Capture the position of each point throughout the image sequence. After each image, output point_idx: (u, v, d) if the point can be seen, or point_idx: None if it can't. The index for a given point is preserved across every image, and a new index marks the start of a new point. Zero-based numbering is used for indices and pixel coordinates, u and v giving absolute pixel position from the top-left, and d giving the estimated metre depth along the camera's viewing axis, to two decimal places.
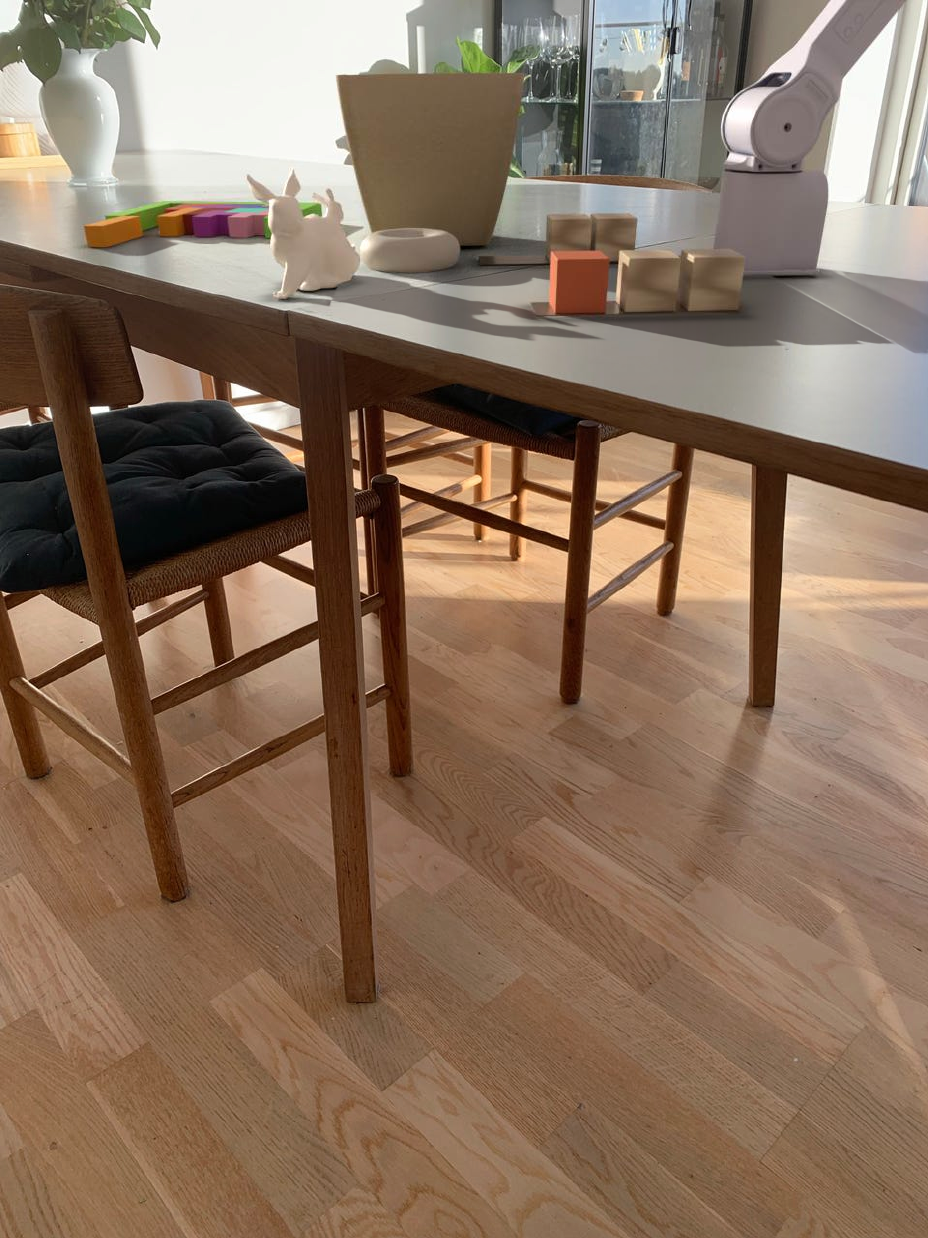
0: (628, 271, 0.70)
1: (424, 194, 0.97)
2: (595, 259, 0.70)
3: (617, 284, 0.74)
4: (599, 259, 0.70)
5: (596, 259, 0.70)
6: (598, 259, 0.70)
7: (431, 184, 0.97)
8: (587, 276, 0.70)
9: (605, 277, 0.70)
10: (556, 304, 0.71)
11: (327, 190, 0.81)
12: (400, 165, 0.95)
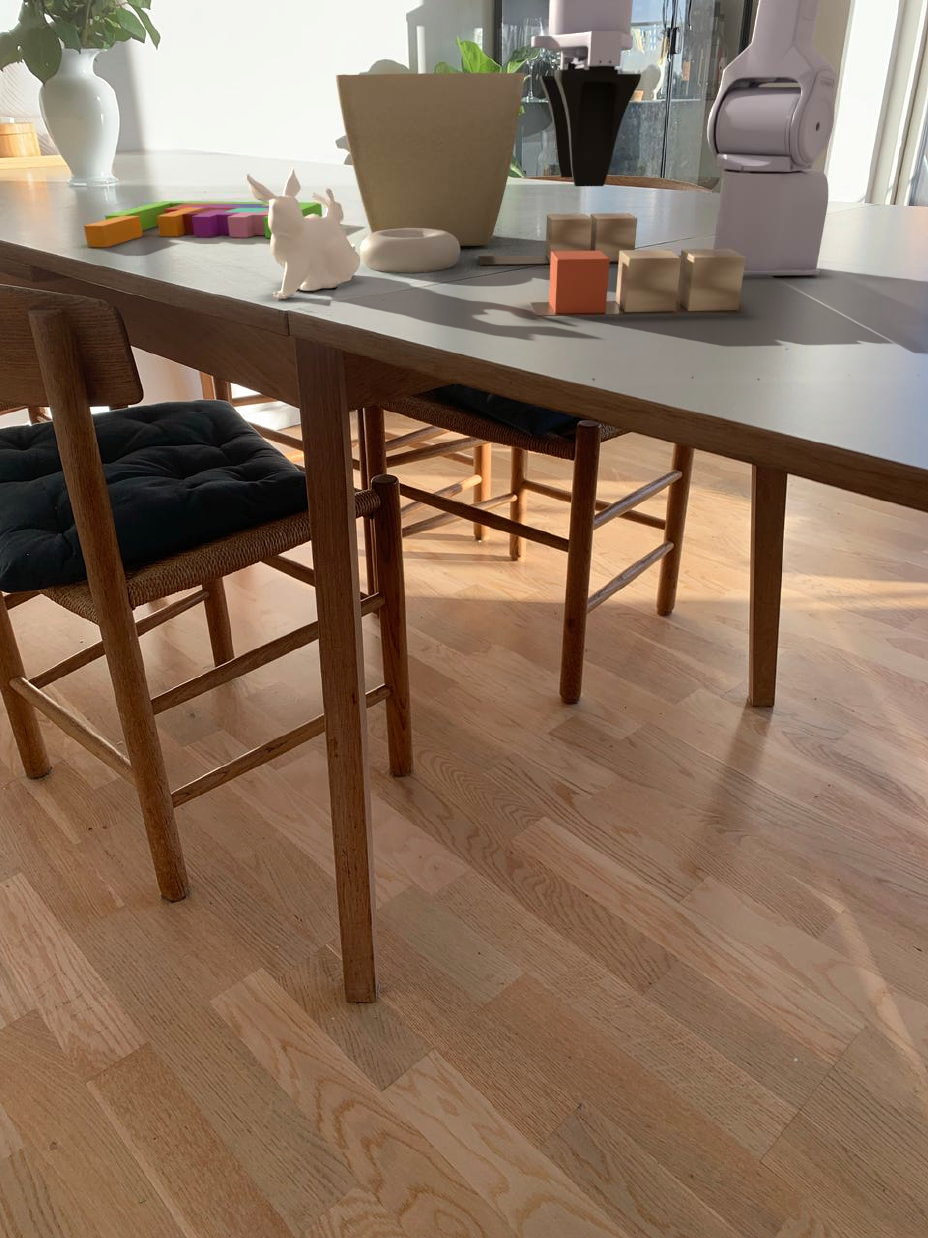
0: (628, 271, 0.70)
1: (424, 194, 0.97)
2: (595, 259, 0.70)
3: (617, 284, 0.74)
4: (599, 259, 0.70)
5: (596, 259, 0.70)
6: (598, 259, 0.70)
7: (431, 184, 0.97)
8: (587, 276, 0.70)
9: (605, 277, 0.70)
10: (556, 304, 0.71)
11: (327, 190, 0.81)
12: (400, 165, 0.95)
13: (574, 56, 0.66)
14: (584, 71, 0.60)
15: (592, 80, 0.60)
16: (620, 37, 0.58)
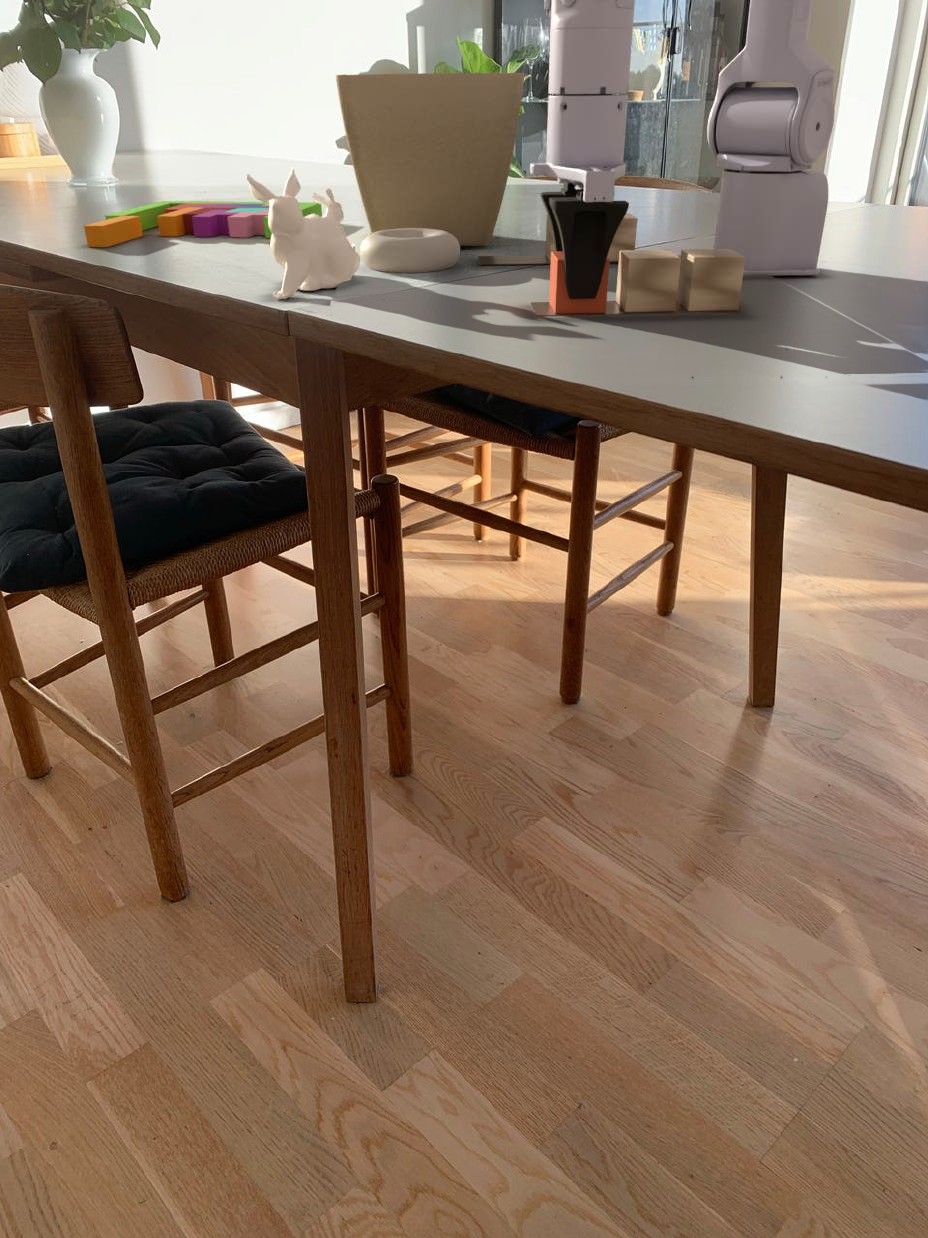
0: (628, 271, 0.70)
1: (424, 194, 0.97)
2: None
3: (617, 284, 0.74)
4: None
5: None
6: None
7: (431, 184, 0.97)
8: None
9: (605, 277, 0.70)
10: (556, 304, 0.71)
11: (327, 190, 0.81)
12: (400, 165, 0.95)
13: None
14: (576, 202, 0.65)
15: (584, 210, 0.65)
16: (613, 177, 0.62)
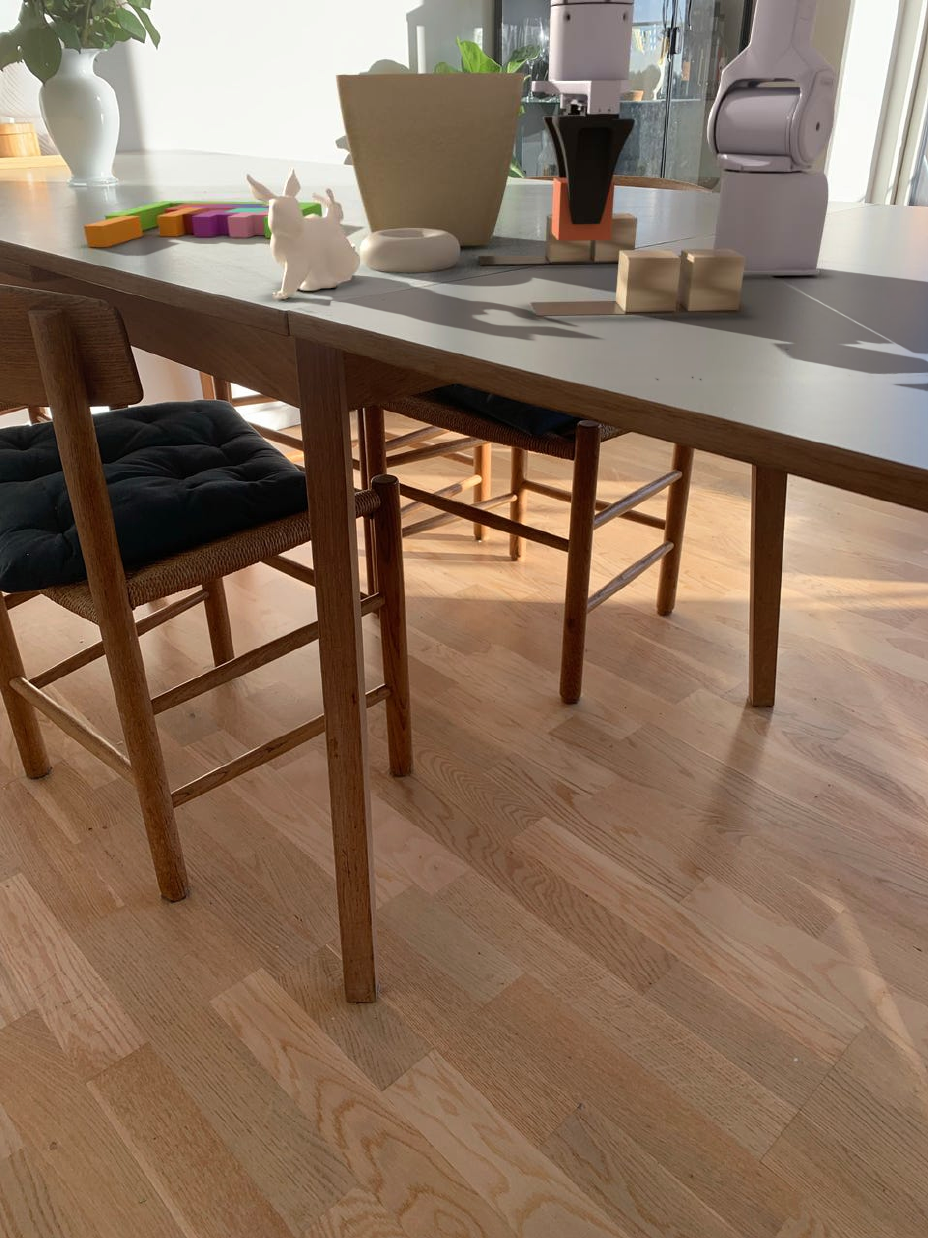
0: (628, 271, 0.70)
1: (424, 194, 0.97)
2: None
3: (617, 284, 0.74)
4: None
5: None
6: None
7: (431, 184, 0.97)
8: None
9: (610, 202, 0.68)
10: (559, 231, 0.69)
11: (327, 190, 0.81)
12: (400, 165, 0.95)
13: (574, 98, 0.68)
14: (580, 118, 0.62)
15: (588, 126, 0.63)
16: (619, 86, 0.59)
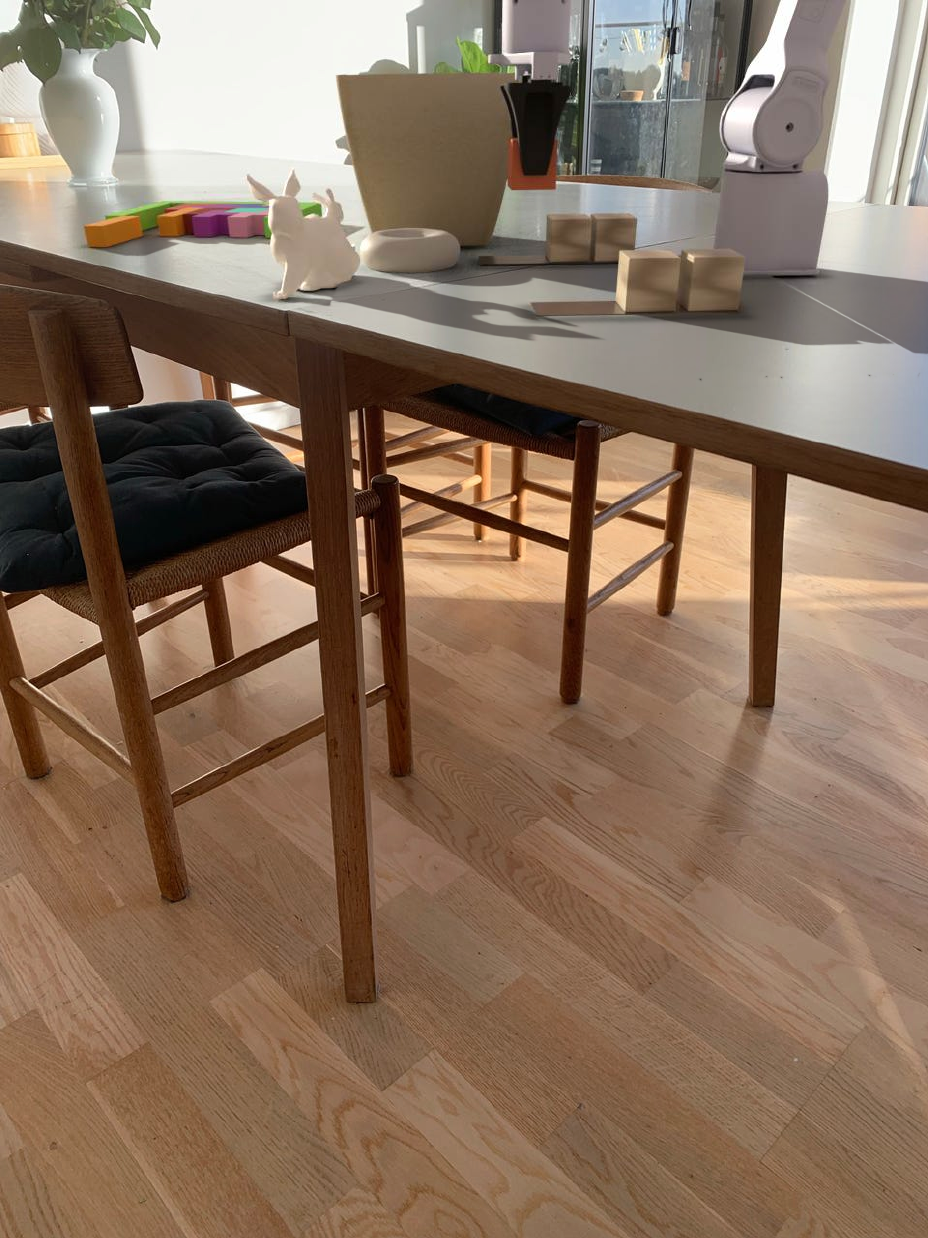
0: (628, 271, 0.70)
1: (424, 194, 0.97)
2: None
3: (617, 284, 0.74)
4: None
5: None
6: None
7: (431, 184, 0.97)
8: None
9: (554, 156, 0.81)
10: (512, 181, 0.81)
11: (327, 190, 0.81)
12: (400, 165, 0.95)
13: (524, 70, 0.81)
14: (527, 83, 0.75)
15: (534, 91, 0.76)
16: (556, 57, 0.72)
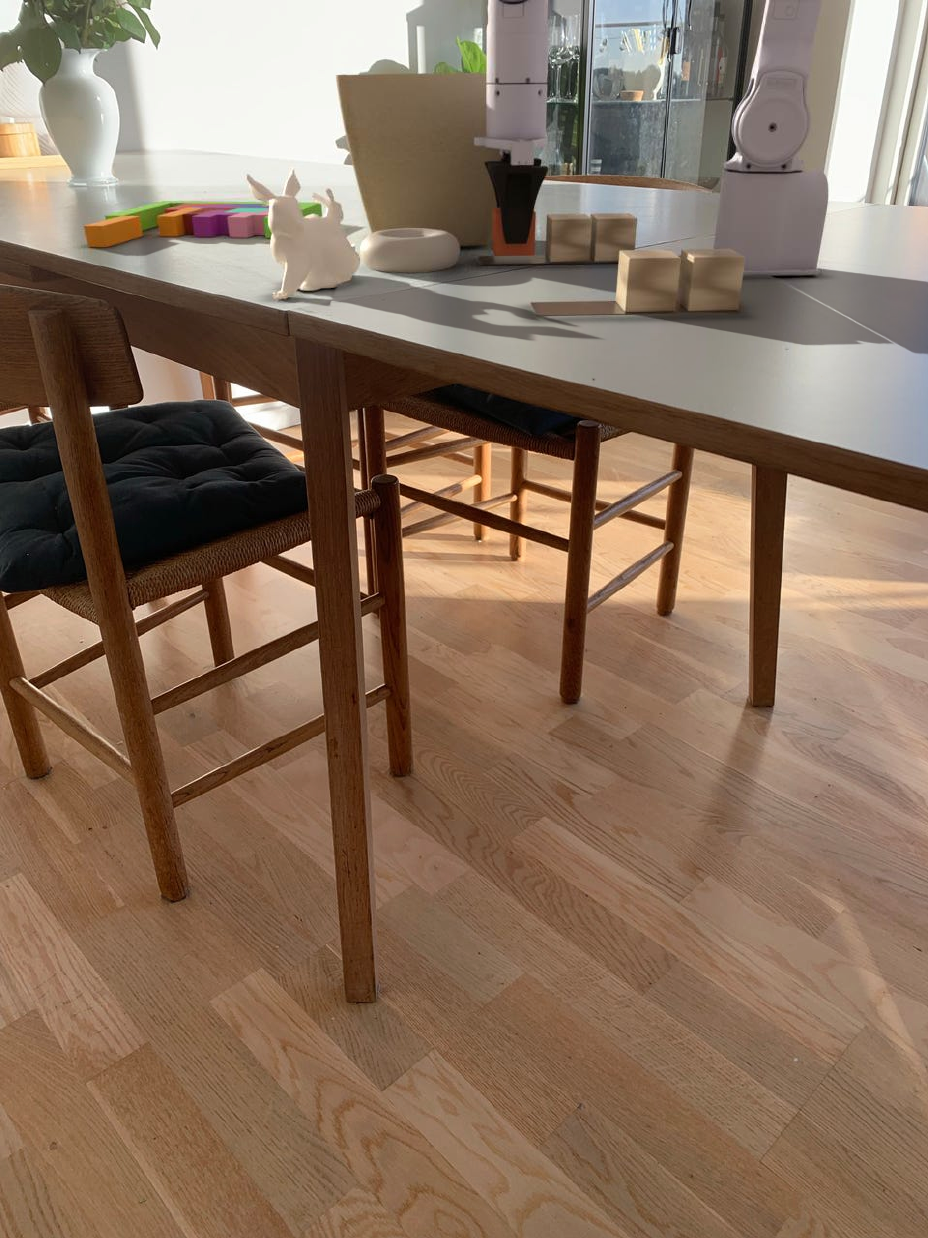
0: (628, 271, 0.70)
1: (424, 194, 0.97)
2: None
3: (617, 284, 0.74)
4: None
5: None
6: None
7: (431, 184, 0.97)
8: None
9: (533, 227, 0.90)
10: (495, 248, 0.91)
11: (327, 190, 0.81)
12: (400, 165, 0.95)
13: None
14: (507, 166, 0.85)
15: (513, 172, 0.85)
16: (532, 145, 0.82)
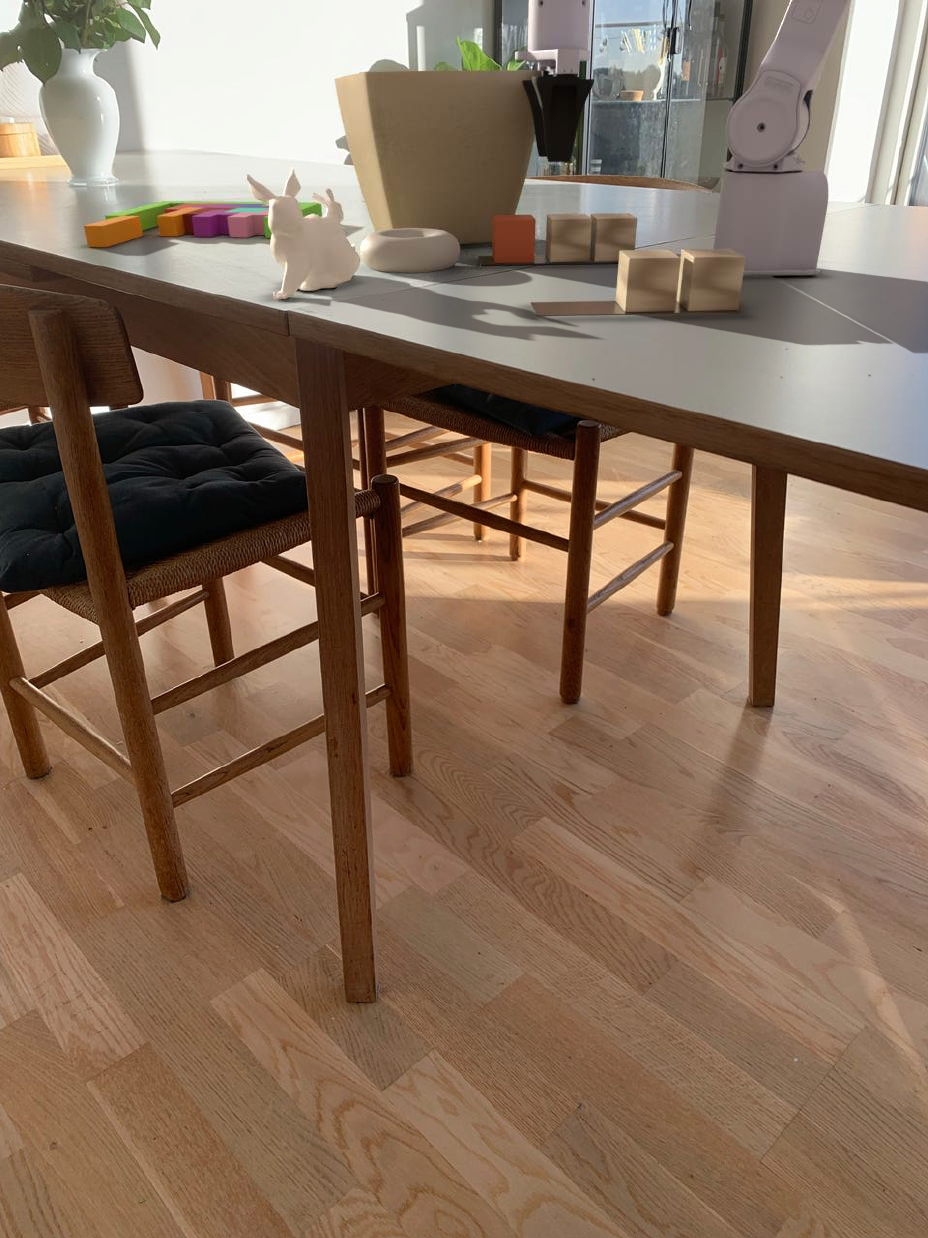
0: (628, 271, 0.70)
1: (448, 191, 0.97)
2: (524, 220, 0.90)
3: (617, 284, 0.74)
4: (527, 220, 0.90)
5: (525, 220, 0.90)
6: (527, 220, 0.90)
7: (455, 181, 0.97)
8: (518, 233, 0.90)
9: (533, 234, 0.90)
10: (495, 255, 0.91)
11: (327, 190, 0.81)
12: (426, 163, 0.95)
13: (547, 65, 0.89)
14: (553, 77, 0.83)
15: (559, 84, 0.83)
16: (578, 53, 0.81)
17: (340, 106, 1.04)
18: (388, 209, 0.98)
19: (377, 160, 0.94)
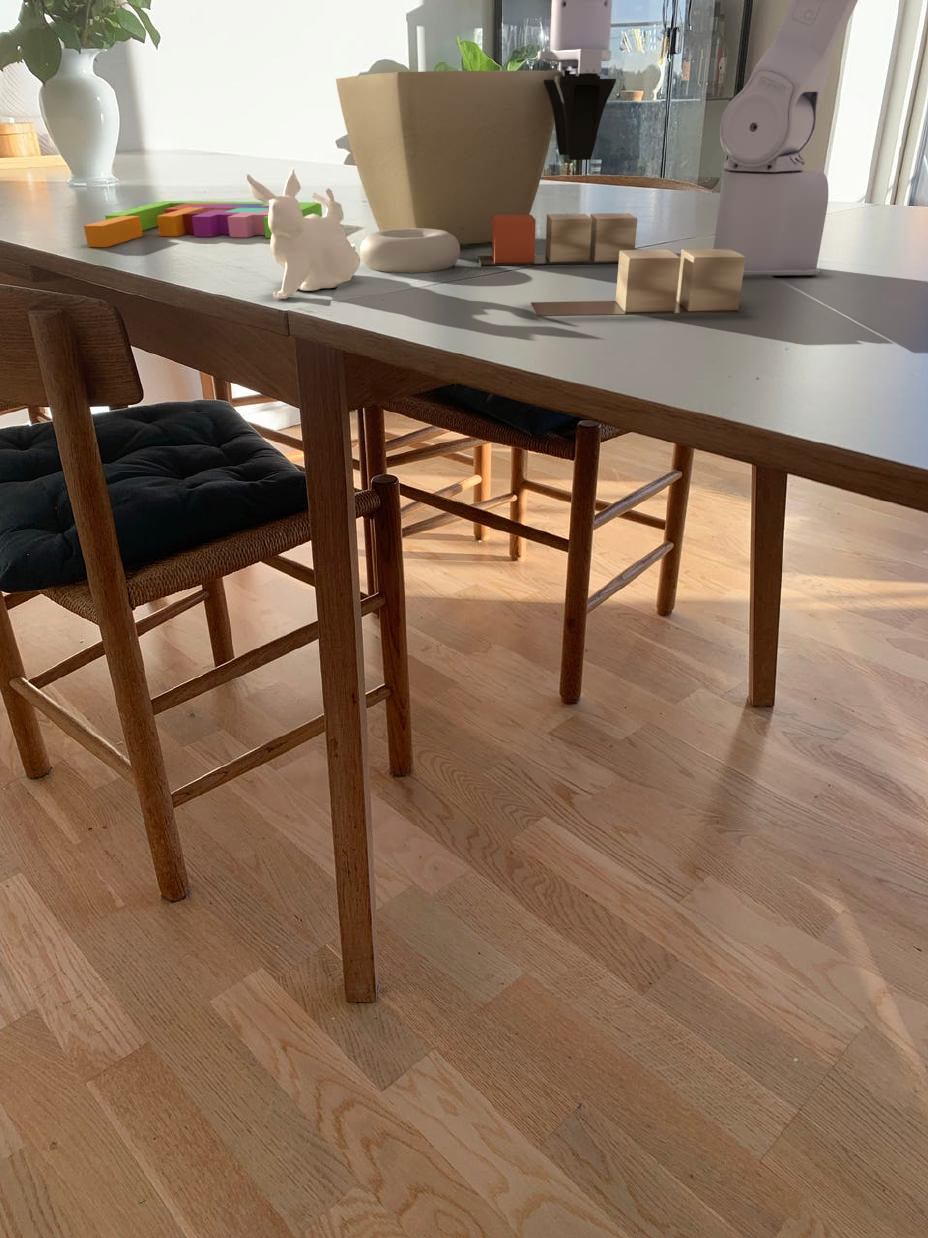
0: (628, 271, 0.70)
1: (471, 191, 0.98)
2: (524, 220, 0.90)
3: (617, 284, 0.74)
4: (527, 220, 0.90)
5: (525, 220, 0.90)
6: (527, 220, 0.90)
7: (478, 181, 0.98)
8: (518, 233, 0.90)
9: (533, 234, 0.90)
10: (495, 255, 0.91)
11: (327, 190, 0.81)
12: (452, 162, 0.95)
13: (569, 65, 0.91)
14: (575, 77, 0.84)
15: (581, 83, 0.85)
16: (601, 53, 0.83)
17: (343, 106, 1.03)
18: (414, 210, 0.97)
19: (405, 160, 0.94)
